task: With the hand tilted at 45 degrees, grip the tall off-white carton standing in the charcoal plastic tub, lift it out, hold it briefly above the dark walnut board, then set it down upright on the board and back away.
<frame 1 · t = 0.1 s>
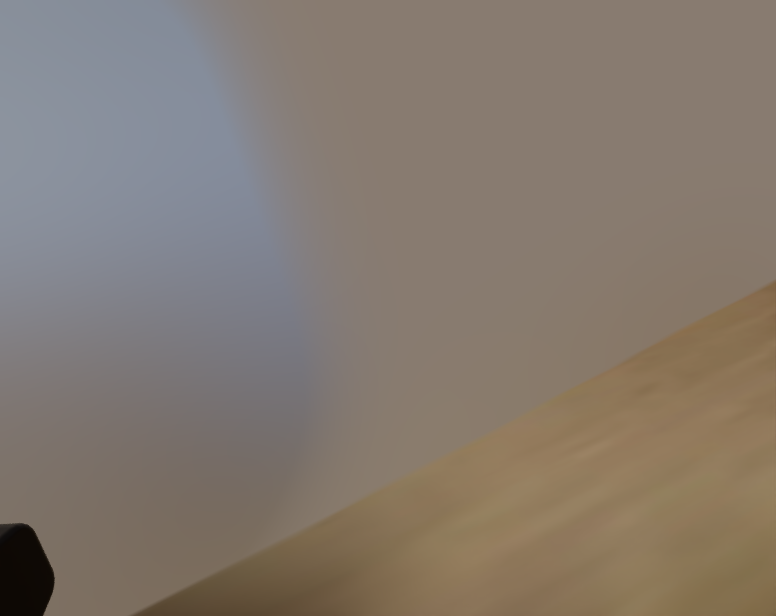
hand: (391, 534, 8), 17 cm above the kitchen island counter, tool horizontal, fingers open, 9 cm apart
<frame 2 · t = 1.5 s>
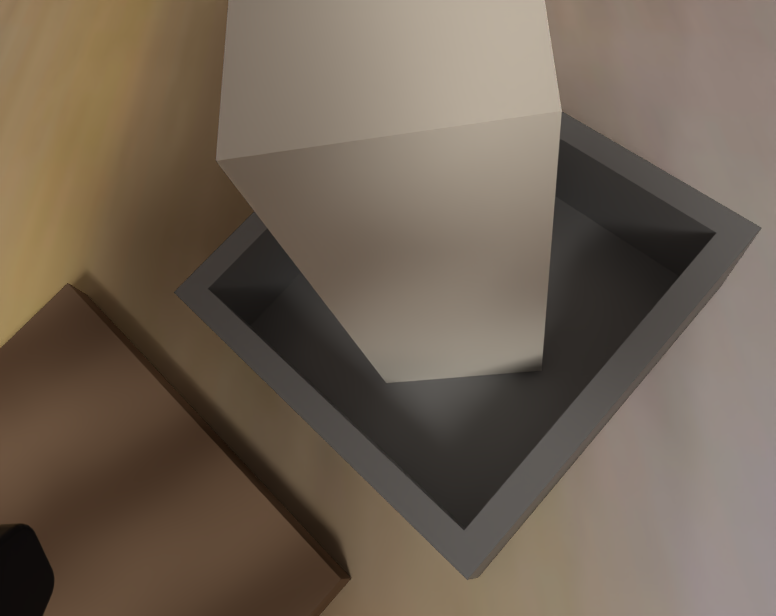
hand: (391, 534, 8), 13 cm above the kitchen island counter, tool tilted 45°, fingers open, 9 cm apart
tub: (458, 311, 23), on the kitchen island counter
board: (65, 564, 22), on the kitchen island counter
carton: (457, 305, 22), point 1 cm above the kitchen island counter, touching tub
when the fingers open (9 cm above the kitchen island counter, at t = 9.2 s): carton drops 1 cm, resting on board.
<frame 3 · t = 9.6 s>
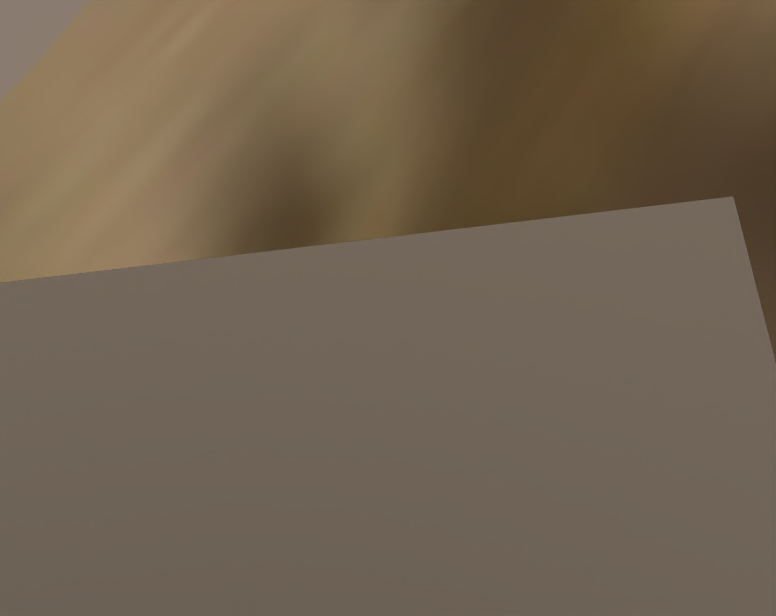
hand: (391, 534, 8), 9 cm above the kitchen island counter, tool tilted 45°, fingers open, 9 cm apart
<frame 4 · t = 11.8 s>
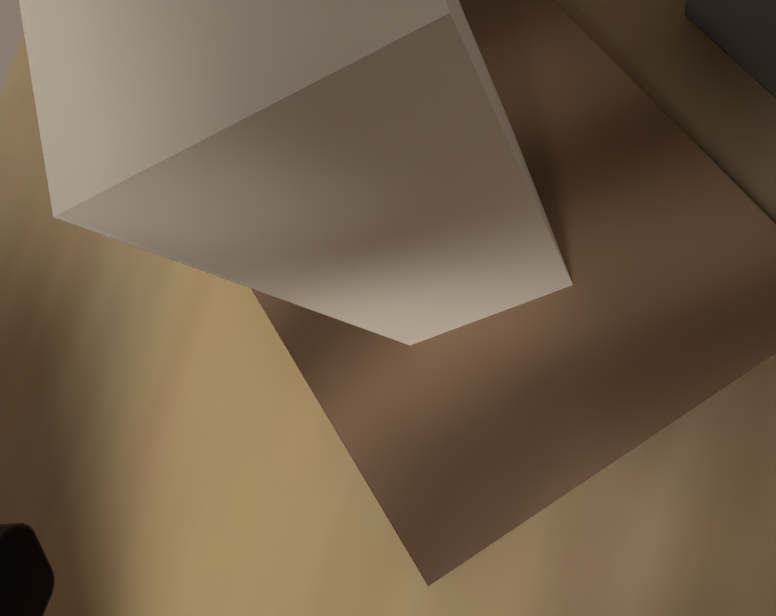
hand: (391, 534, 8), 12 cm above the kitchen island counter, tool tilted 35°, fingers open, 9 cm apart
board: (470, 248, 21), on the kitchen island counter
carton: (461, 238, 20), point 1 cm above the kitchen island counter, touching board
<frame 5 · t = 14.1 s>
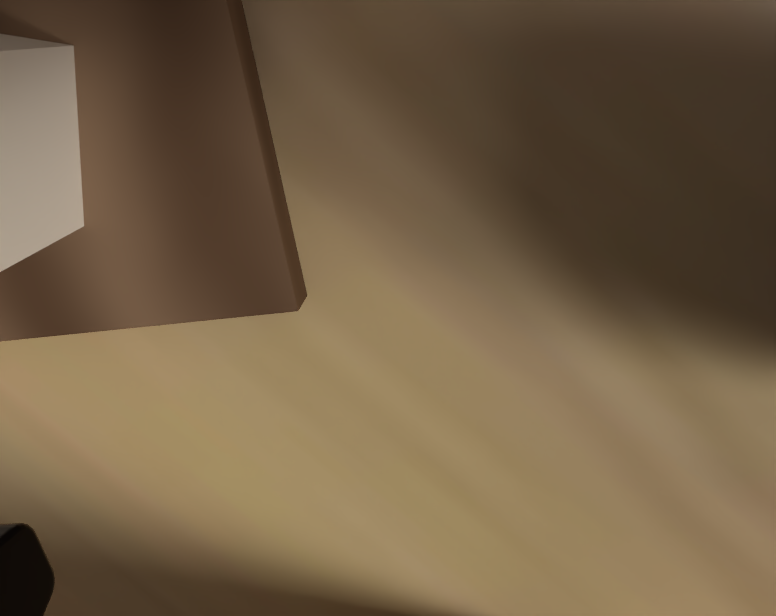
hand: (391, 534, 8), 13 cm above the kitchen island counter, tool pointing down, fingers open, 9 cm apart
board: (20, 120, 20), on the kitchen island counter
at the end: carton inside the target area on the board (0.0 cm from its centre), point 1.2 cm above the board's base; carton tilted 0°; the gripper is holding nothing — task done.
